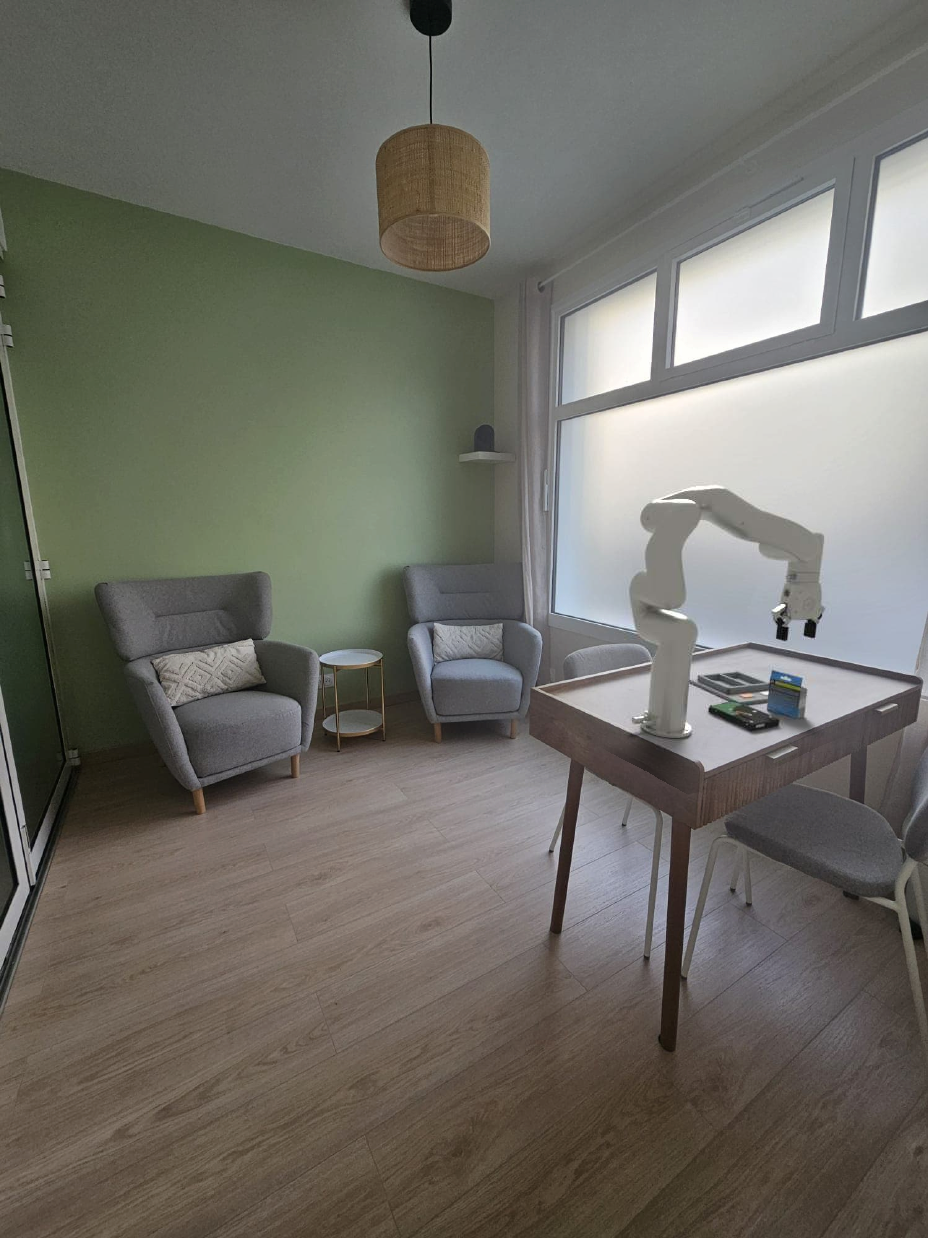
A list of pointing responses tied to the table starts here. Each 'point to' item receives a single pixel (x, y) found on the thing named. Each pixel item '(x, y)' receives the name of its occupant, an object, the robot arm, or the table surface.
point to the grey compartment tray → (734, 687)
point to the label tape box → (786, 695)
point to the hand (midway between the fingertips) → (795, 638)
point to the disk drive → (744, 716)
